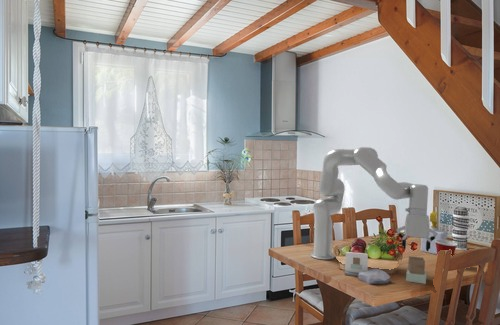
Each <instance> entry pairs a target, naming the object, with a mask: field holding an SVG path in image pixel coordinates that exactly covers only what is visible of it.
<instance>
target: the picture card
mask: <svg viewBox="0 0 500 325" xmlns="http://www.w3.org/2000/svg"><path fill="white" fill-rule="evenodd" d="M368 257H369V254H368V253H363V252H351V251H346V252H345V259H344V260H345V261H344V262H345V263H344V264H345V265H344V276H351V277H358V276H359V273H360V272H361V271H362V272H367V271H368V265H369V264H368V263H369V260H368V259H369V258H368Z"/></svg>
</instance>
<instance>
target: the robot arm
mask: <svg viewBox="0 0 500 325" xmlns="http://www.w3.org/2000/svg"><path fill="white" fill-rule="evenodd" d="M322 164H323V165H322V172H321V176H320V180H319V181H320V182H319V186H318V187H319V189H318V190H319V194H320V195H321V196H323V198H319V199H317V200H316V201H314V203H313V207H312V209H313V210H312V211H313V217H314V218H313V219H314V220H313V221H314V228H313V230H314V233H313V234H314V235H313V236H314V237H313V252H311V253H310V257H312V258H314V259H316V260H324V261H325V260H333V259H335V254H334V253H333V252H332V249H333V248H332V247H333V219H332V217H331V216H333V215H336V214H338V213H339V212H340V211H341V209H342V205H343V201H344V194H345V188H346V187H345V184H344V181H342V180H341V179H340V178H338V177H339V166H360V167H361V168H362V169H363V170H365V171H366V172H367V173H368V174H369V175H370V176H371V177H372V178H373V180H374V182H375V183H376V185H377V187H379V189H380V190H381V191H383V192H384V193H385V194H386V195H387V196H388V197H390V198H391V199H393V200H396V201H397V200H403V199H409V200H408V201H409V203H408V204H409V205H408V207H406V208H405V212H408V213H407V214H406V216H405V222H404V226H401V227H398V228H396V232H397V234H398V236H399V237H400V238H401V247H403V249H404V250H405V249H406V245H407V240H406V239H407V238H408V237H409V238H419V239H421V238H426V239H427V241H426V250H427V251H429V249H430V242H431V241H433V240H434V239H435V237H436V236H437V235H438V233H437V232H435V231H434V230H432V229H431V226H430V215H428V202H429V201H428V198H429V197H428V196H429V188H428V185H426V184H418V183H416V184H415V183H410V182H405V181H403V182H398V181H397V180H395V179H394V178H393V177H391V175H390V174H389V173H388V171H387V164H386V163H385V162H384V161H383V160H381V159H380V158H379V154H378V152H377V151H376V149H374V148H372V147H371V146H370V147H368V146H367V147H366V146H363V147H361V146H360V147H358V148H354V149H351V148H350V149H344V148H340V149H339V148H337V149H332V150H331V151H328V152H326V154H325V156H324V158H323V163H322ZM401 231H404V234H402V233H401ZM429 232H431V233H433V236H432V237H430V238H429Z"/></svg>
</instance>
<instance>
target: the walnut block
mask: <svg viewBox="0 0 500 325" xmlns="http://www.w3.org/2000/svg"><path fill="white" fill-rule="evenodd" d="M407 262H408V263H407V264H408V266H407V267H408V268H407V269H408V270H409V272H410V273H415V274H424V271H426V269H425V267H426V261H425V259H424V257H421V256H412V255H411V256H410V255H408V261H407Z"/></svg>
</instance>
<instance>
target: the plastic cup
mask: <svg viewBox="0 0 500 325" xmlns="http://www.w3.org/2000/svg"><path fill="white" fill-rule="evenodd" d="M435 243H436V249H437V254H438V252H439V251H440V250H449V249H451V250H452V254H451V255H452V256H453V255H455V251H456V250H457V249H456V246H457V245H458V244H457V243H455V242H452V240H440V239H437V240H435ZM453 257H454V256H453Z"/></svg>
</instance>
